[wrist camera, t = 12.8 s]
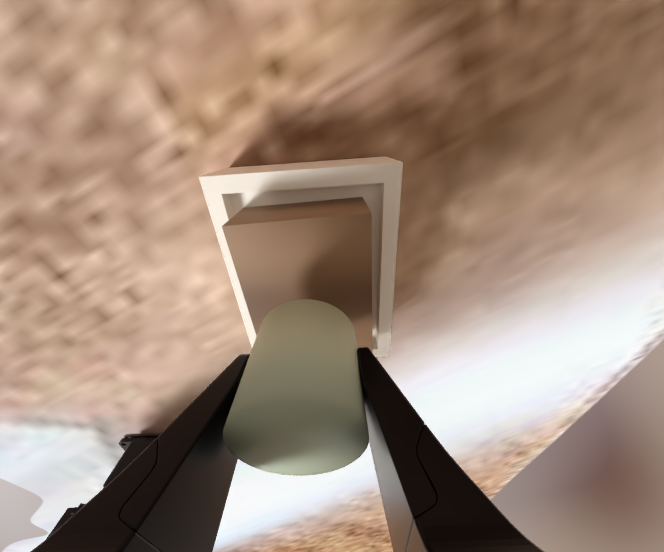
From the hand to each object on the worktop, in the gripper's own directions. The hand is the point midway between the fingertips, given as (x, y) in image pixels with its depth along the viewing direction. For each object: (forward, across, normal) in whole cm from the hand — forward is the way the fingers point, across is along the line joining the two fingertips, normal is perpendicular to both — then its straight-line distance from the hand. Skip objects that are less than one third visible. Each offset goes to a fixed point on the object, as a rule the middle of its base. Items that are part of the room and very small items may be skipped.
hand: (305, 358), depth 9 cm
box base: (+9, 0, 0) cm, 9 cm away
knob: (+1, 0, 0) cm, 1 cm away
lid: (+6, 0, 0) cm, 6 cm away
